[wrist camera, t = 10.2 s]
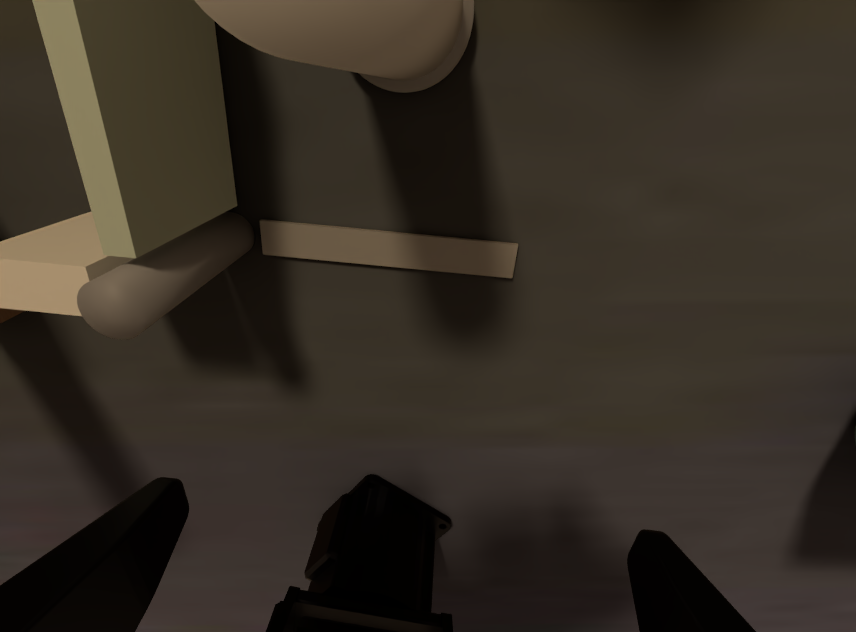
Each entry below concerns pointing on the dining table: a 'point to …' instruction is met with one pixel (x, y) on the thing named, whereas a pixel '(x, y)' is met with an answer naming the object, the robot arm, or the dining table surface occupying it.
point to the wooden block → (8, 313)
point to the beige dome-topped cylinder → (356, 35)
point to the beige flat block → (142, 115)
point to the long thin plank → (202, 264)
